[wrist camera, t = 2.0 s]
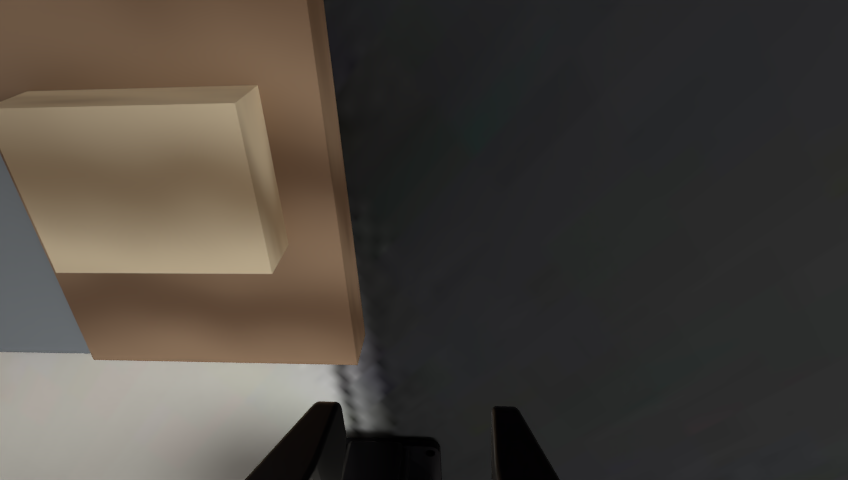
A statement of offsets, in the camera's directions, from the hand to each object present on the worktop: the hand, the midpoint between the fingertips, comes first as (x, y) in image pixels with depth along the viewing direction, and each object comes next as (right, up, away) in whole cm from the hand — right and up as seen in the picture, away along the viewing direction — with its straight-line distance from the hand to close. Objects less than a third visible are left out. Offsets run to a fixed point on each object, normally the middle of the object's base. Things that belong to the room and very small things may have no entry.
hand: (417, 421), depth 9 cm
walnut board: (-9, +6, +12) cm, 16 cm away
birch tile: (-9, +5, +9) cm, 14 cm away
